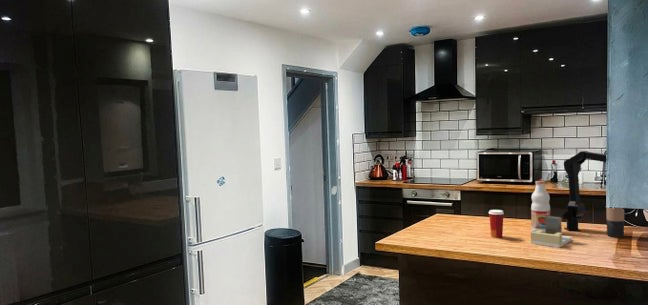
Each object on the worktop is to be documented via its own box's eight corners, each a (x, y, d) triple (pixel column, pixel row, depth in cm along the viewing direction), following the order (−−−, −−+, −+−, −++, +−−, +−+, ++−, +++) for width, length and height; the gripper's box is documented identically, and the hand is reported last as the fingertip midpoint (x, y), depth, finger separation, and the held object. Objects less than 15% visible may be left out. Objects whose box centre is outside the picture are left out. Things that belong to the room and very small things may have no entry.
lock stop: (549, 235, 226) (548, 216, 225) (561, 236, 221) (561, 217, 221) (545, 237, 222) (545, 217, 222) (558, 238, 218) (558, 219, 217)
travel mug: (627, 238, 221) (627, 199, 220) (610, 238, 223) (610, 199, 222) (620, 234, 229) (620, 196, 228) (604, 234, 230) (603, 197, 229)
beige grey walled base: (545, 236, 231) (544, 225, 231) (572, 239, 222) (571, 229, 222) (530, 243, 218) (530, 232, 218) (559, 247, 209) (559, 236, 208)
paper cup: (504, 235, 236) (504, 209, 235) (504, 238, 229) (503, 212, 228) (489, 234, 239) (488, 209, 238) (488, 237, 232) (487, 211, 231)
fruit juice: (539, 228, 248) (539, 179, 247) (554, 232, 239) (553, 181, 238) (527, 230, 244) (527, 181, 243) (541, 234, 236) (541, 182, 235)
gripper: (630, 176, 205) (641, 209, 202) (653, 174, 213) (664, 205, 210) (607, 181, 215) (617, 213, 212) (630, 179, 223) (640, 209, 220)
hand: (635, 210), depth 213 cm, fingers open, 9 cm apart
